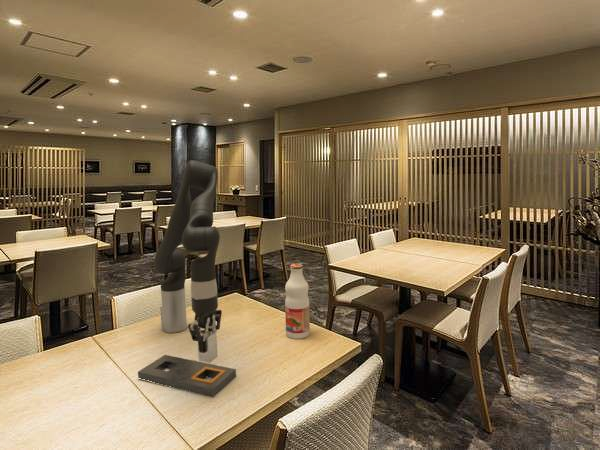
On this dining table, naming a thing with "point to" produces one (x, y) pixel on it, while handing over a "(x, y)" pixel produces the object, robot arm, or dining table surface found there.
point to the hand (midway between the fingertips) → (207, 348)
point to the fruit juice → (297, 304)
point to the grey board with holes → (188, 375)
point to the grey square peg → (209, 348)
